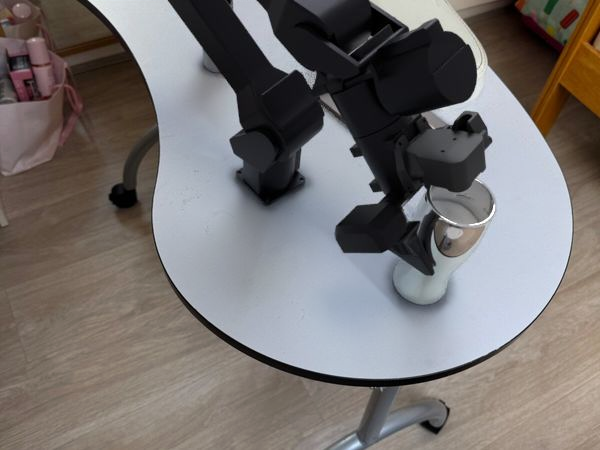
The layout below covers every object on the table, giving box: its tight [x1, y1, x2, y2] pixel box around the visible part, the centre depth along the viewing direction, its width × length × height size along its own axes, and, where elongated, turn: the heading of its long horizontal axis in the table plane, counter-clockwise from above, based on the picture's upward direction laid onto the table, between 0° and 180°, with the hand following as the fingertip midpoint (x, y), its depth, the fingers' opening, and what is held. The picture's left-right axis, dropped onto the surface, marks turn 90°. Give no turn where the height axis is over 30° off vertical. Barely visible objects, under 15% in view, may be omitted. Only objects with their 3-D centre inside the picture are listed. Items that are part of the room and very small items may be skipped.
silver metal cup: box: [392, 177, 498, 306], centre depth 60 cm, size 7×7×15 cm
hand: (448, 253), depth 60 cm, fingers closed on silver metal cup, 6 cm apart
